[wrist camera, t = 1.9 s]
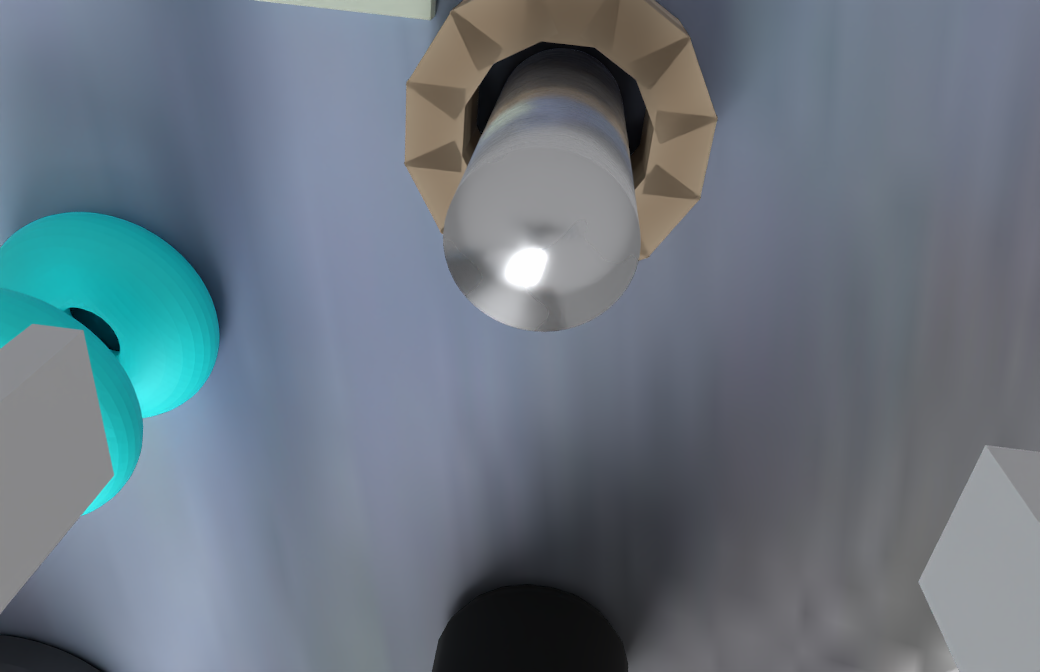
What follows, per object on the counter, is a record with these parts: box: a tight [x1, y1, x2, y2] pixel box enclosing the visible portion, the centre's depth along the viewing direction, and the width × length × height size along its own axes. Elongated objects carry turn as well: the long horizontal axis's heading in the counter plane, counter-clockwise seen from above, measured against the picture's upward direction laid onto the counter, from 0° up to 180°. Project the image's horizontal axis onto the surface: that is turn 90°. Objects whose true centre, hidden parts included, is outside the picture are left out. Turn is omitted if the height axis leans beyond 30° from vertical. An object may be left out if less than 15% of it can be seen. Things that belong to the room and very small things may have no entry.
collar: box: [404, 0, 718, 260], centre depth 29 cm, size 10×10×4 cm
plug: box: [443, 48, 641, 332], centre depth 25 cm, size 5×5×13 cm
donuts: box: [0, 212, 220, 516], centre depth 32 cm, size 10×10×10 cm
